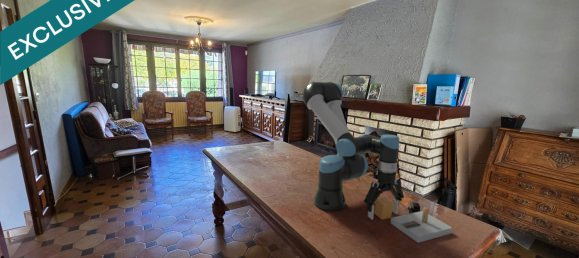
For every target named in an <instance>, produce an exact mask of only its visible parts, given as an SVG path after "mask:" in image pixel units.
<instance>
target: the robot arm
mask: <svg viewBox="0 0 579 258" xmlns="http://www.w3.org/2000/svg"><path fill="white" fill-rule="evenodd" d="M343 98H344V91H343V88H342V86H341V85H340V84H339V83H337V82H332V81H328V82H327V81H326V82H325V81H324V82H323V81H322V82H321V81H314V82H310V83H308V84H307V85H306V86H305V88H304V89H303V92H302V101H303V102H304V104H305V106H306V107H307V109H308V110H312V112H313V113H314V115H315V116H316V117H317V119H318V120H319V121H320V122H321V124H322V125H323V126H324V128H325V130H326V131H327V132H328V133H329V135H330V136H331V137H332V138H333V141H334V143H335V149H336V152H337V154H329V155H325V156H323V157H321V158H320V159H319V165H318V183H317V184H318V187H317V190H316V192H315V196H314V199H313V200H314V202H313V204H314V205H315V206H316V207H318V208H319V209H321V210H324V211H330V212H336V211H340V210H342V209H344V208H345V206H346V197H345V194H344V191H343V188H344V187H343V186H344V184H343V183H344V182H347V181H351V180H355V179H356V180H357V179H359V178H362V177H363V176H365V175H366V174H367V171H368V169H369V163H368V159H367V157H366V156H365V155H363V154H368V153H372V154H374V155H378V164H377V169H378V170H377V174H376V175H377V176H376V177H377V182H375V181H372V182H371V183H370V188H369V190H368V191H367V194H366V195H365V198H364V200H363V203H365V204H366V205H367V206H366V207H367V208H366V210H367V217H368V218H369V219H370V220H374V215H375V205H374V204H375V203H376V200H377V199H379V198H380V196H381V194H383V193H385V192H391V194H392V196H393V197H394V198H392V203H393V205H392V214H395V215H398V214H399V213H398V211H399V206H400V203H401V202H402V200H403V199H404V197H405V195H404V192H403V188H402V186H401V180H400V179H398V178H397V170H398V169H397V167H398V159H399V150H400V137H399V136H398V135H394V134H382V135H381V136H380V137H378V136H374V135H372V134H371V135H370V134H365V133H362V134H360V135H359V136H358V137H355V136H354V135H353V134H352V133H351V132H350V129H348V128H349V127H348V124H347V123H346V119H345V116H344V113H343V110H342V107H341V106H342V103H343V102H342V100H343Z"/></svg>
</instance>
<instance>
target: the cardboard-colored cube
mask: <svg viewBox="0 0 579 258" xmlns="http://www.w3.org/2000/svg"><path fill="white" fill-rule="evenodd" d="M374 204H375V205H374V215H375V216H377V217H378V218H379V219H381V220H387V219H391V218H392V214H393V212H392V205H393V201H390V200H389V199H387V198H385V197H383V198H377V200H376V201H375V202H374Z"/></svg>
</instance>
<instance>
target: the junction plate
mask: <svg viewBox="0 0 579 258" xmlns="http://www.w3.org/2000/svg"><path fill="white" fill-rule="evenodd" d="M390 224H391V225H392V226H394V228H395V227H396V229H398V230H400V231H401V232H402V233H404V234H405V235H406V236H408V237H409V238H410V239H412V240H414V241H415V242H416V243H417V244H418V243H423V242H425V241H430V240H433V239H436V238H439V237H444V236H447V235H451V234H452V233H453V227H452V226H450V225H448V224H447V223H445V222H443V221H442V220H439V218H436V217H435V216H432V215H431V214H430V208H429V207H426V206H424V207H423V209H422V210H420V212H415V213H411V214H409V213H407V214H402V215H398V216H393V217H391V218H390Z"/></svg>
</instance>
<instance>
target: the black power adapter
mask: <svg viewBox="0 0 579 258" xmlns="http://www.w3.org/2000/svg"><path fill="white" fill-rule="evenodd" d="M407 207H408V208H407V211H408V210H409V211H408V214H411V213H415V212H420V211H421V205H420V203H419V202H414V201H413V202H411V206H407ZM410 207H411V208H410Z"/></svg>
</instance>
